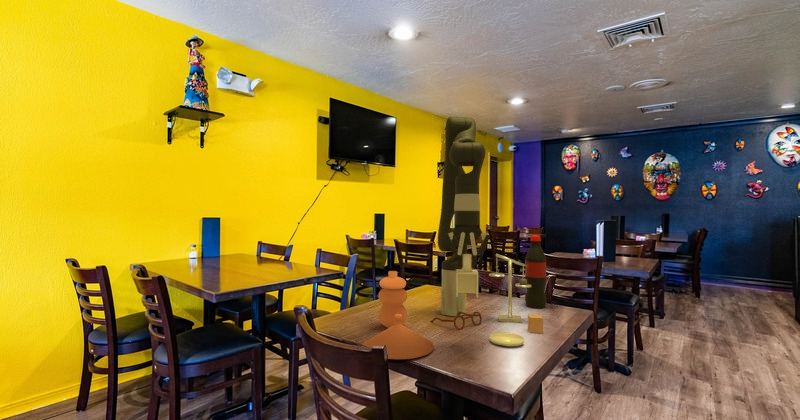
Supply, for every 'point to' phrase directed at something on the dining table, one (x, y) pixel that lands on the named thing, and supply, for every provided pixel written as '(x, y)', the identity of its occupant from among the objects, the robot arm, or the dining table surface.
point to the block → (535, 323)
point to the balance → (510, 289)
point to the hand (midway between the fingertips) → (467, 267)
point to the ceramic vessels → (397, 323)
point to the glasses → (462, 319)
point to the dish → (506, 339)
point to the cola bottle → (535, 274)
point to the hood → (466, 277)
